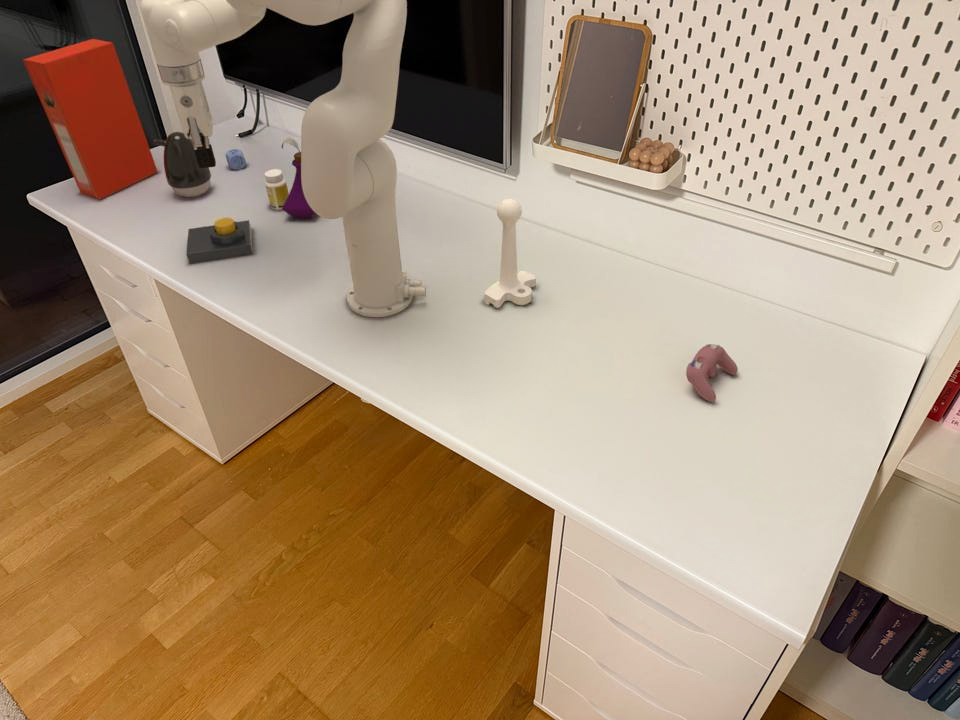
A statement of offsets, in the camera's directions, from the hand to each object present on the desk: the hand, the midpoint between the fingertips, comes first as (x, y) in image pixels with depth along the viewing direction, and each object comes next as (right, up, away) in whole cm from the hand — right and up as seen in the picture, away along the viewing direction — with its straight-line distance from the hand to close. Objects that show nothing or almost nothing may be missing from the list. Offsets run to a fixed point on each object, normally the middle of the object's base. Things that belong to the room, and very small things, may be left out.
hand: (207, 165), depth 138 cm
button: (0, -11, +10) cm, 15 cm away
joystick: (+61, -27, -4) cm, 67 cm away
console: (-2, -14, +13) cm, 19 cm away
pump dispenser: (-17, +2, +33) cm, 37 cm away
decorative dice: (-10, +12, +44) cm, 47 cm away
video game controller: (+92, -43, -23) cm, 104 cm away
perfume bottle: (+14, -5, +24) cm, 28 cm away
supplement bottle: (+7, -2, +27) cm, 28 cm away
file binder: (-37, +6, +38) cm, 54 cm away
